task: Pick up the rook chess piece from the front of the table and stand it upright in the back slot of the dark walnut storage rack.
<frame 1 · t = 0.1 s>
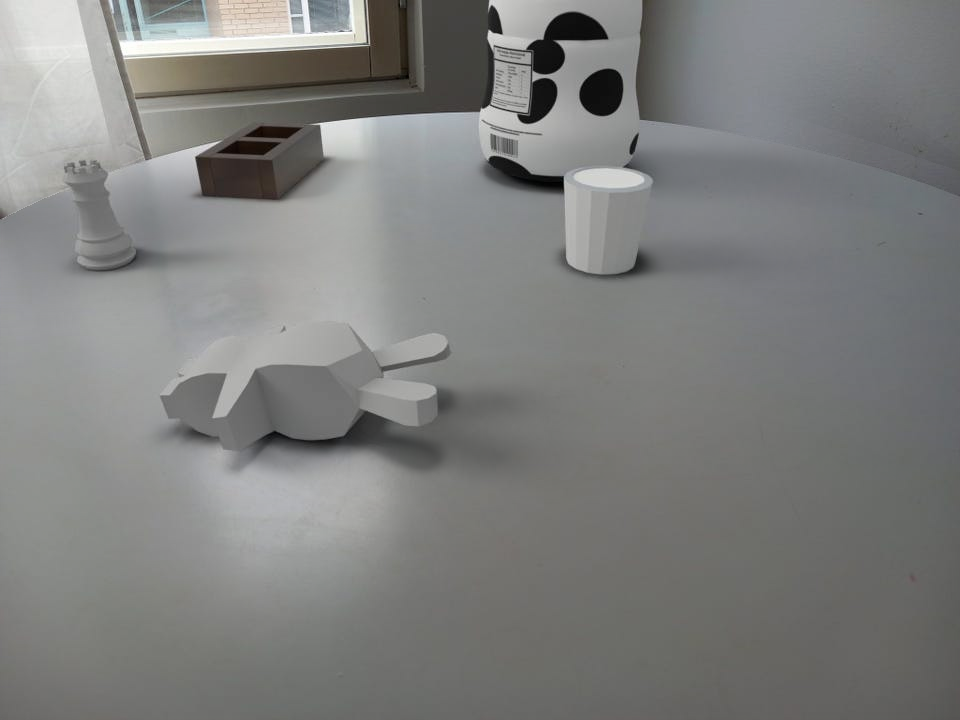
rook chess piece: (109, 263, 61), on the table
shot glass: (600, 262, 61), on the table
rack: (267, 176, 81), on the table
milk container: (555, 172, 83), on the table
bunny figurine: (313, 421, 42), on the table
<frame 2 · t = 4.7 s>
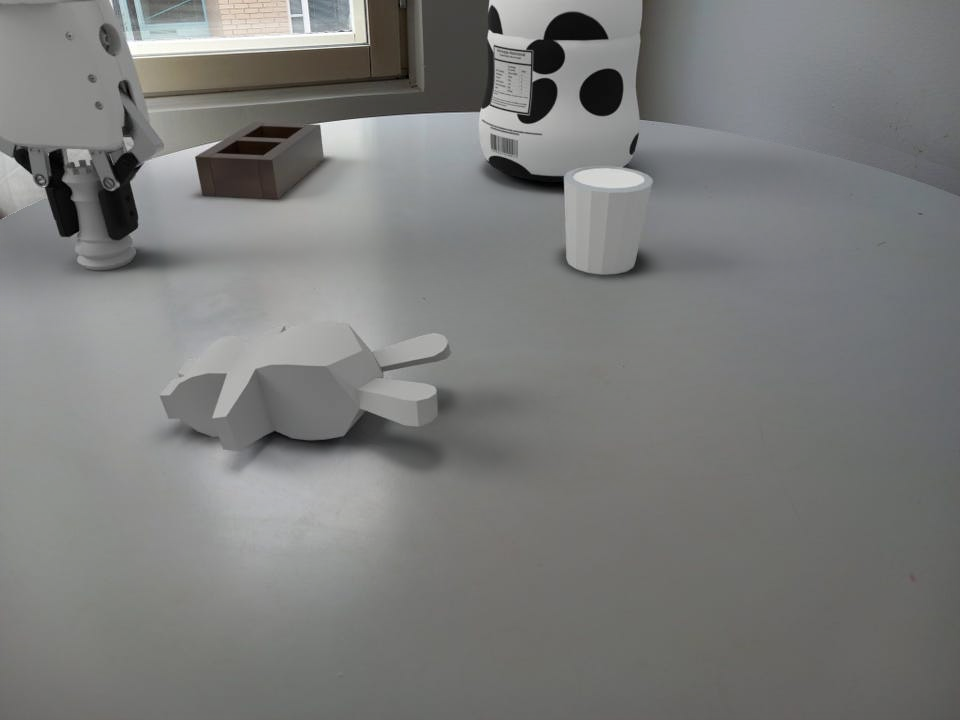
hand: (100, 230, 59), 3 cm above the table, tool pointing down, fingers closed on rook chess piece, 3 cm apart
rook chess piece: (109, 263, 61), on the table, touching gripper
everything else where it was.
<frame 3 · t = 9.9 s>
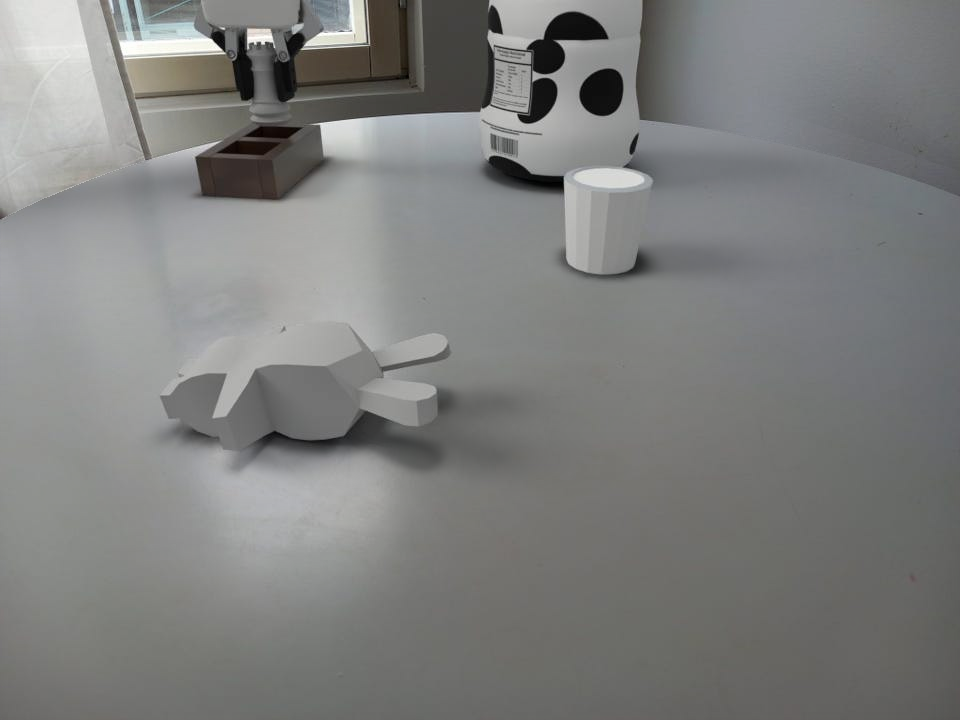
hand: (268, 97, 80), 8 cm above the table, tool pointing down, fingers closed on rook chess piece, 3 cm apart
rook chess piece: (272, 124, 81), point 5 cm above the table, touching gripper
everything else where it was.
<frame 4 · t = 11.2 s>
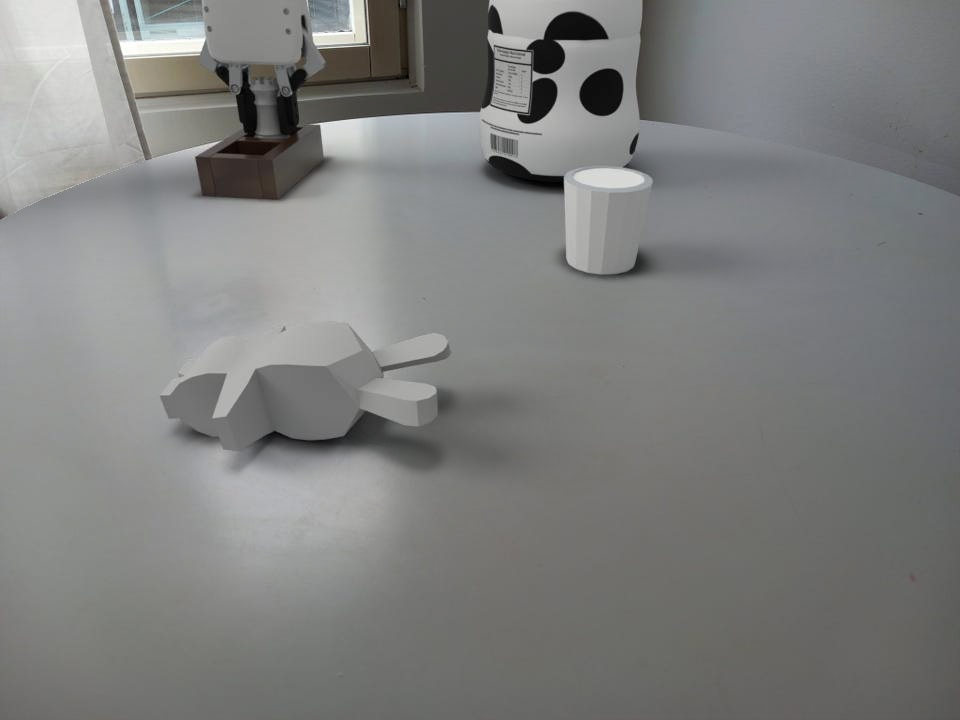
hand: (270, 129, 81), 4 cm above the table, tool pointing down, fingers closed on rook chess piece, 3 cm apart
rook chess piece: (274, 155, 83), point 1 cm above the table, touching gripper
everything else where it was.
when the fingers open (5 cm above the table, at t = 14.9 s): rook chess piece drops 2 cm, resting in rack.
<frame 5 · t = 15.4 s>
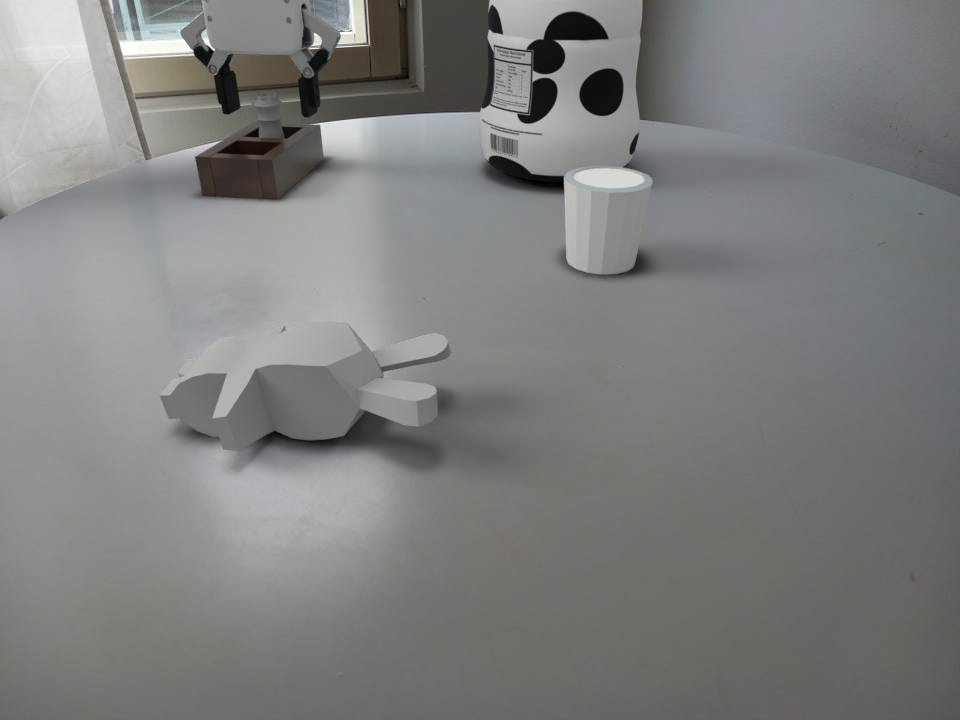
hand: (270, 112, 80), 6 cm above the table, tool pointing down, fingers open, 8 cm apart
rook chess piece: (276, 169, 83), resting in rack
everything else where it was.
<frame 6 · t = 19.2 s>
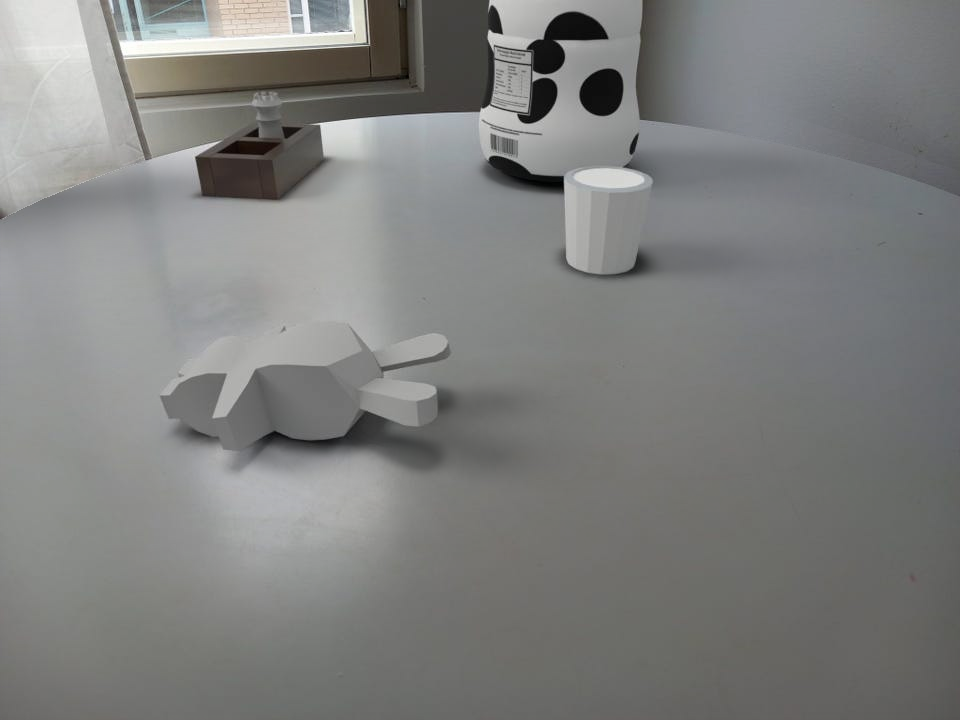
nothing on the table moved.
at the end: rook chess piece 0.2 cm from the target spot in the rack, point 0.0 cm above the rack's base; rook chess piece tilted 0°; the gripper is holding nothing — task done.
